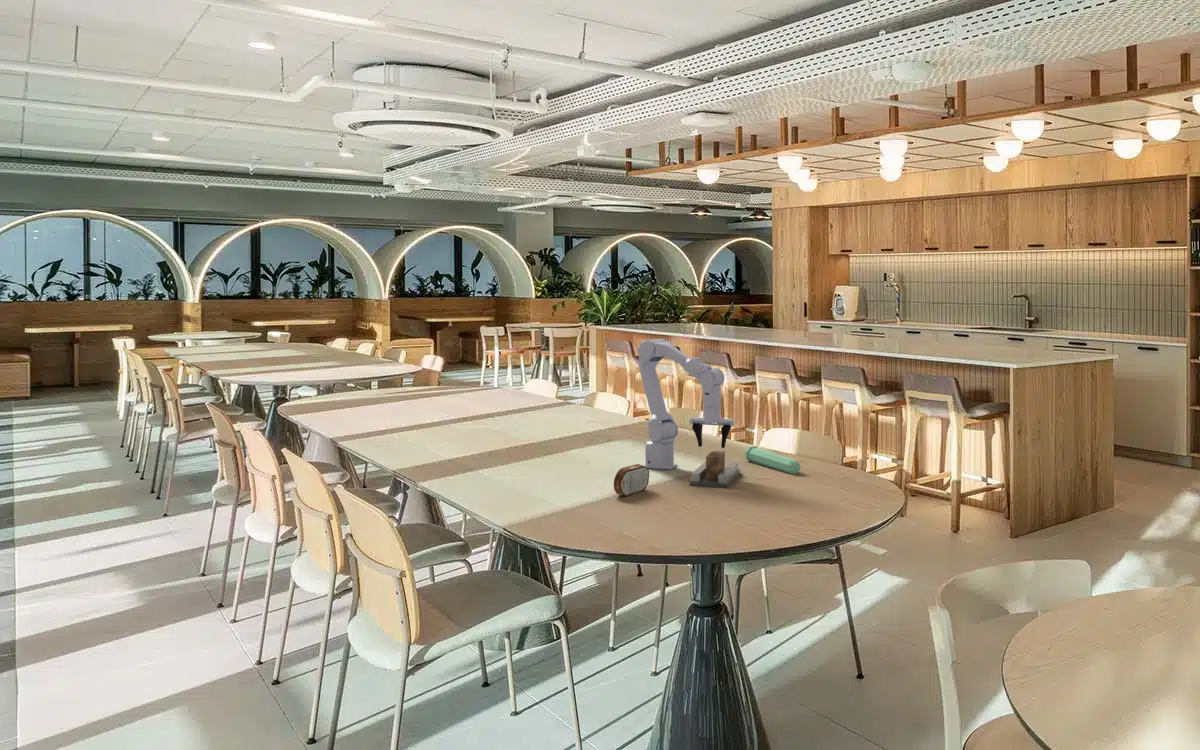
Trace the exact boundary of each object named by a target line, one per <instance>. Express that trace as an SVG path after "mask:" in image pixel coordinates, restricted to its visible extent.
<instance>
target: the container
mask: <svg viewBox="0 0 1200 750" xmlns="http://www.w3.org/2000/svg"><path fill="white" fill-rule="evenodd" d="M745 459H746V460H747V461H748V462H750V463H751V462H752V463H755V464H759V465H761V466H765V467H768V468H771V469H774V470H777V471H780V472H783V473H787V474H792V475H796V474H798V473H799V472H800V470H801V464H800V463H799V461H798V460H797V459H793V458H790V457H789V456H788V457H787V456H784V455H780V454H778V453H774V452H770V451H768V450H765V449H761V448H758V447H757V446H756V445H754V446H753V445H752V446H749V447H748V448H747V449H746V451H745Z"/></svg>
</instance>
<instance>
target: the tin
mask: <svg viewBox="0 0 1200 750" xmlns="http://www.w3.org/2000/svg"><path fill="white" fill-rule="evenodd" d="M649 480H650V470H649V468H647V467H646V465H641V464H640V463H636V464H633V465H628V466H624V467H622V468H620V469H619V470H618V471H616V473H615V476H614V479H613V490H614V492H615V493H616V494H617V495H618V496H623V497H625V496H626V497H629V496H631V495H635V494H638V493H640V492H643V491H645V490H646V488H647V486H648V484H649Z"/></svg>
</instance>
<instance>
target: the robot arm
mask: <svg viewBox="0 0 1200 750" xmlns="http://www.w3.org/2000/svg"><path fill="white" fill-rule="evenodd" d="M636 349H637V354H638V369H639V374H640V377H641V381H642V385H643V388H644V392H645V396H646V397H645V398H646V401H647V404H648V408H649V412H650V417H649V419H648V421H647V426H648V427H647V428H648V430H647V434H648V437H649V439H650V440H647V442H646V444H645V453H644V454H645V455H644V456H645V466H646V467H647V468H648V469H656V470H657V469H658V470H673V469H674V468H675V467H676V466H678V463H675V459H674V458H675V456H674V455H675V451H674V449H675V446H674V445H675V442H674V441H675V439H676V437H677V435H678V433H679V428H678V425H677V424H676V422H675V421H674V417H673V415H671V413H669V412H668V411H667V407H666V404H665V400H664V396H663V393H662V392H663V391H662V389H661V384H660V381H659V377H658V372H657V369H656V368H657V366H658V365H659V363H660V362H661V361H662V360H663V359H664V358H666V357H667V358H668V359H670V360H672V361H674V362H675V363H678V364H680V365H681V366H683V367H684V371H685V372H686V373H687V374H689V375H690V376H692V377H693V378H695V379H696V380H698V381H699V383H700V385H701V387H702V391H703V392H702V401H703V402H702V417H690V418H689V425H692V426H691V428H692V430H693V433H694V435H695V437H696V440H697V443H698V445H697V446H698V448H699V447H702V446H703V425H707V426H720V430H721V432H720V433H721V443H720V445H721V446H720V447H721V449H724V448H725V447H726V444H727V443H726V442H727V439H728V436H729V433H730V431H731V429H732V427H735V419H730V418H729V419H728V418H721V417H722V416H721V415H722V414H721V411H722V409H721V408H722V407H721V406H722V405H721V404H722V397H721V396H722V395H721V394H722V385H723V383H724V382H725V374H724V372H723V371H722V370H721V368H718V367H715V368H713V367H712V365H710V364H707V363H705V362H704V361H702V358H700V357H699V356H698V357H696V356H693V357H689V356H688V355H686V353H684V352H683V351H681V350H680V349H679V348H677V347H676V346H674V345H673V344H672V342H670V341H669V340H666V339H665V338H663V337H662V338H657V339H645V340H642V341H641V342H640V344H639V346H638V348H636Z"/></svg>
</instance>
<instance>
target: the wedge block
mask: <svg viewBox="0 0 1200 750" xmlns="http://www.w3.org/2000/svg"><path fill="white" fill-rule="evenodd" d="M725 456H726V451H724V450H712V451H711V452H709V453H708V454H707V455H706V457H705V461H706V478H711V479H718V475H719V474H720V473H721V472H722V471H723V470H724V469H725V468H726V462H725V461H726V457H725Z"/></svg>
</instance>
